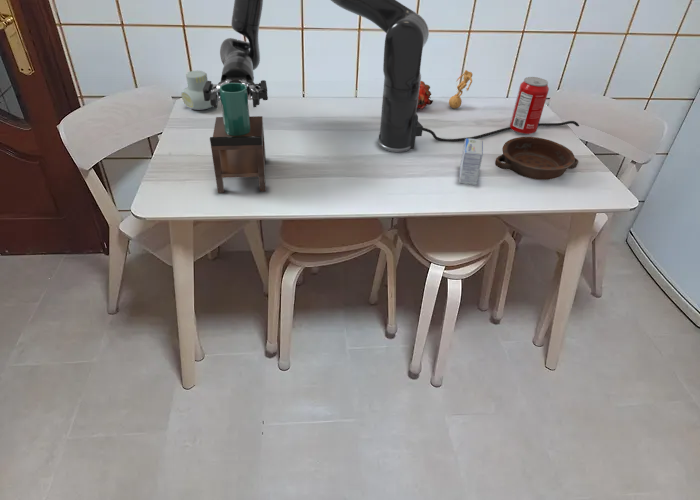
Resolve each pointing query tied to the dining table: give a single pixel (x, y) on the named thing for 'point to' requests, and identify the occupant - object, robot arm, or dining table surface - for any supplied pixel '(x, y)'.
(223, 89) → the tumbler
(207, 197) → the dining table surface
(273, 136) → the dining table surface
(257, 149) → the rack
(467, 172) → the medicine box
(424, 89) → the dragon fruit
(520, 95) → the soda can
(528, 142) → the dish
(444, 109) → the dining table surface
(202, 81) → the air freshener
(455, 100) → the figurine
